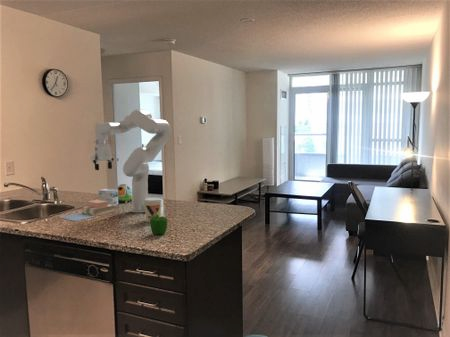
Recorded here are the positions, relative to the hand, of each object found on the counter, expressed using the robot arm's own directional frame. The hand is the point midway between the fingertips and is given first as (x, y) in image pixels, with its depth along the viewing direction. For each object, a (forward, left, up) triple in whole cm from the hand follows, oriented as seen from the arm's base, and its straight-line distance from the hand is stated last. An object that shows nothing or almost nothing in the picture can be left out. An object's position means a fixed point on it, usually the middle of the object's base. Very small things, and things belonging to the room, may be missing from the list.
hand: (103, 169), depth 248 cm
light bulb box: (+3, -6, -25) cm, 26 cm away
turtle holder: (+7, -22, -25) cm, 34 cm away
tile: (-10, +13, -21) cm, 26 cm away
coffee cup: (-52, +8, -25) cm, 58 cm away
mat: (-10, +27, -25) cm, 38 cm away
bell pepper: (-74, +26, -25) cm, 82 cm away
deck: (-10, +12, -25) cm, 29 cm away
